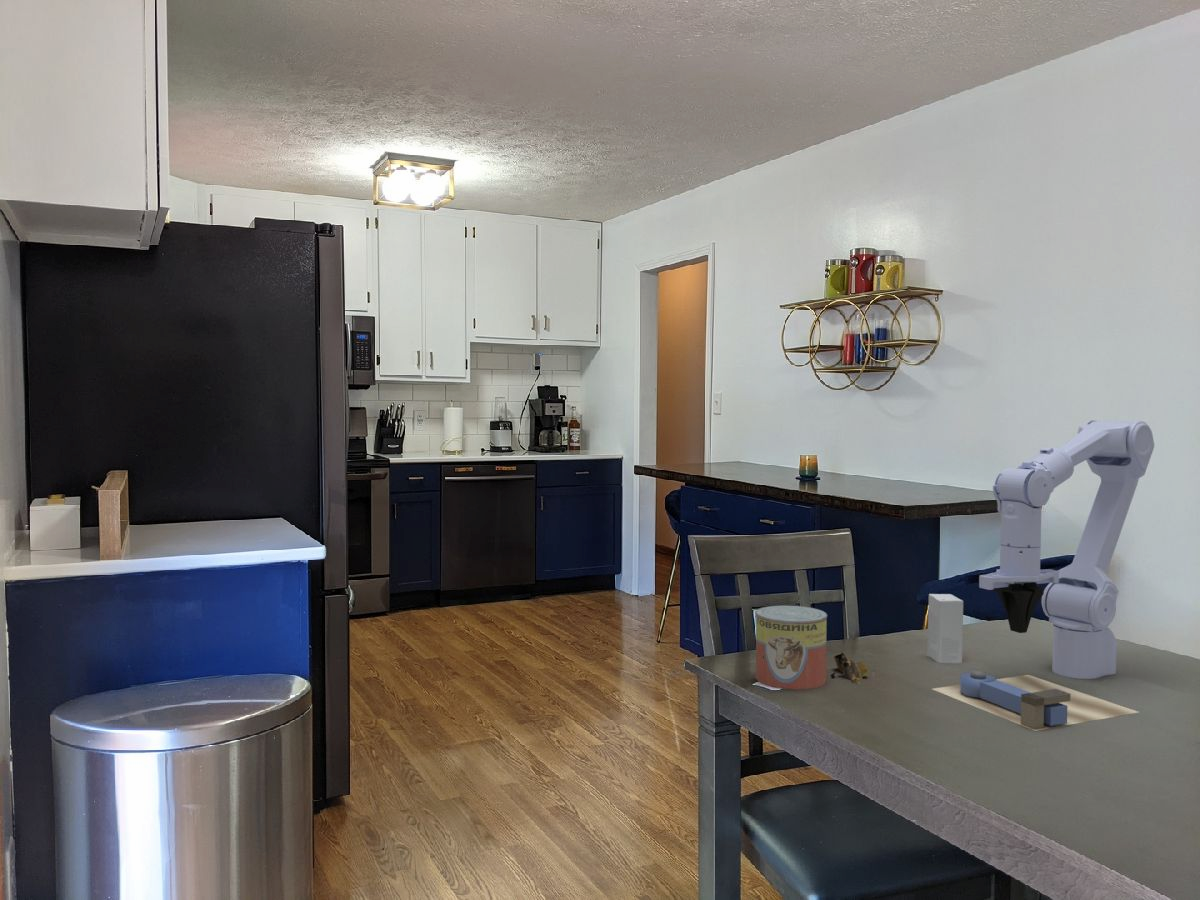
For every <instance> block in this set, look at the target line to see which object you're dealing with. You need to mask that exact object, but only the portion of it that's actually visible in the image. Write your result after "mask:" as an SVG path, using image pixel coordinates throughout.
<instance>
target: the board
mask: <svg viewBox="0 0 1200 900" xmlns="http://www.w3.org/2000/svg"><path fill="white" fill-rule="evenodd" d="M996 680H998V681H1000V682H1003V683H1006V684H1009V685H1011V686H1014V687H1017V688H1020V689H1022V690H1025V691H1028V692H1031V693H1033V692H1039V691H1046V690H1052V689H1058V690H1061V691H1064V692H1067V693H1070V694H1071V695H1070V701H1067V702H1061V704H1064V705H1066V706H1067V723H1064V724H1058V725H1052V726H1050V725H1047V724H1045V723H1044V726H1043V728H1042V729H1036V730H1034V729H1031V728H1029V727H1026V726H1024V725H1021V714H1020V713H1017V712H1015V711H1012V710H1010V709H1007V708H1004V707H1002V706H999V705H997V704H994V703H992V702H989V701H987V700H984V699H982V698H977V697H971V696H967V695H964V694H962V693H961V692H960V684H955V685H948V686H942V687H935V688H931V690H933V691H935V692H937V693H939V694H942V695H945V696H947V697H950V698H952V699H955V700H957V701H960V702H962V703H964V704H968V705H970V706H972V707H975V708H977V709H979V710H981V711H985V712H986V713H989V714H992V715H994V716H997V717H999V718H1002V719H1004V720H1007V721H1010V722H1012V723H1015V724H1016V725H1020V726H1022V727H1024V728H1027V729H1029V730H1032V731H1034V732H1037V731H1044V730H1049V729H1054V728H1061V727H1066V726H1071V725H1077V724H1082V723H1089V722H1092V721H1093V722H1094V721H1100V720H1106V719H1110V718H1111V719H1112V718H1117V717H1122V716H1123V717H1124V716H1128V715H1132V714H1133V715H1134V714H1139V713H1140V711H1137V710H1135V709H1132V708H1128V707H1125V706H1122V705H1119V704H1116V703H1114V702H1110V701H1109V700H1108V701H1107V700H1104V699H1103V698H1099V697H1095V696H1093V695H1090V694H1088V693H1083V692H1081V691H1078V690H1075V689H1073V688H1072V689H1071V688H1069V687H1066V686H1063V685H1060V684H1057V683H1053V682H1052V681H1051V682H1050V681H1048V680H1046V679H1041V678H1039V677H1036V676H1034V675H1030V674H1024V675H1023V674H1022V675H1015V676H1011V677H1010V676H1009V677H1003V678H997V679H996Z"/></svg>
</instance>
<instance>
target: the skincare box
mask: <svg viewBox="0 0 1200 900" xmlns="http://www.w3.org/2000/svg"><path fill="white" fill-rule="evenodd" d="M927 611H928V614H927V616H928V617H927V619H928V620H927V652H926V653H927V657H930V658H931V659H932V660H933V661H935V662H936V663H937V664H962V663H963V641H964V640H963V638H964V637H963V633H964V632H963V631H964V630H963V629H964V600H963V599H960V598H958V597H957V596H955V595H954V594H951V593H929V594H928V609H927Z"/></svg>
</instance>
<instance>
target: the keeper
mask: <svg viewBox="0 0 1200 900" xmlns="http://www.w3.org/2000/svg"><path fill="white" fill-rule="evenodd" d="M1070 695H1071V694H1070V693H1067V692H1064V691H1061V690H1058V689H1052V690H1046V691H1039V692H1033V693H1027V694H1021V725H1024V726H1026V727H1029V728H1031V729H1034V730H1036V729H1042V728H1043V726H1044V705H1048V704H1054V703H1061V702H1067V701H1070ZM1021 725H1020V726H1021ZM1024 726H1023V727H1024ZM1026 727H1025V728H1026ZM1029 728H1028V729H1029ZM1031 729H1030V730H1031ZM1034 730H1033V731H1034Z"/></svg>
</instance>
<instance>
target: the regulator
mask: <svg viewBox="0 0 1200 900" xmlns="http://www.w3.org/2000/svg"><path fill="white" fill-rule="evenodd" d="M833 658H834V661H835V663H836V667H837V669H838V671H840V673H842V674H841V675H835V674H836V672H833V673H831V674H830V675H829V676H830V679H836V678H840V679H842V678H843V679H848V680H851V681H852V683H855V684H857V685H858V686H862V684H861V681H862V680H863V678H864V677H867V676H868V674H869V670H868V667H867V666H866V664H865V662H863V661H860V662H855V661H854V660H852V659H850V660H848V658H847V656H846V655H845V654H844V653H843V652H841V653H840V654H836V655H835V656H833Z"/></svg>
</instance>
